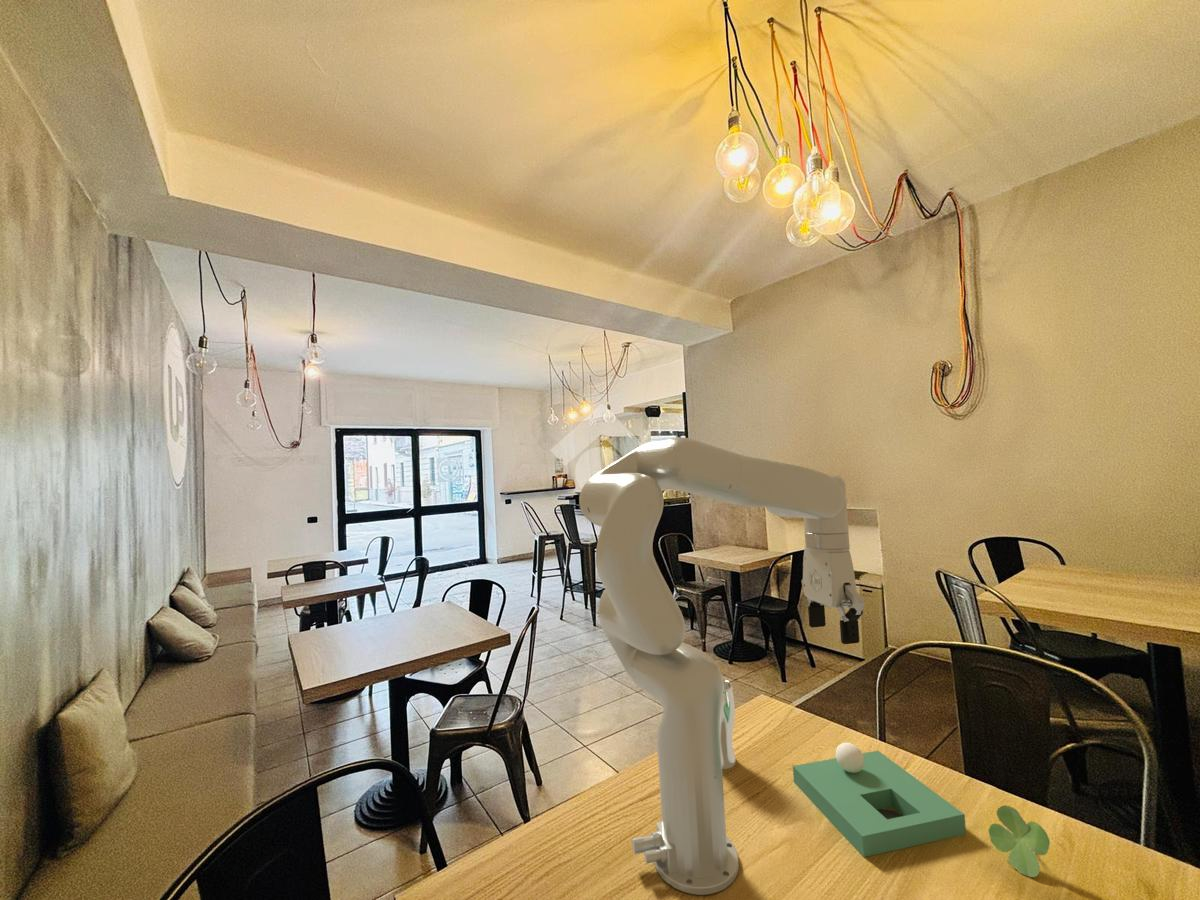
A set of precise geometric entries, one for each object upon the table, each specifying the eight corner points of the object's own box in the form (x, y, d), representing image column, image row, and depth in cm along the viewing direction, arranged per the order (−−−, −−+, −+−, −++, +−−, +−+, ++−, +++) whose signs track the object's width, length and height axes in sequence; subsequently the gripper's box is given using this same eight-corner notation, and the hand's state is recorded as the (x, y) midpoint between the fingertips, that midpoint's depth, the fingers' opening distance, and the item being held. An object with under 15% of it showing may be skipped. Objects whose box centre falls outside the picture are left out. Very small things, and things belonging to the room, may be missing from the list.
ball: (848, 780, 85) (846, 753, 85) (831, 765, 89) (829, 739, 90) (871, 776, 86) (869, 749, 86) (853, 761, 90) (851, 735, 90)
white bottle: (710, 747, 102) (706, 674, 103) (743, 757, 98) (738, 681, 99) (696, 764, 97) (692, 687, 98) (730, 775, 93) (725, 695, 93)
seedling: (1010, 877, 72) (996, 870, 69) (993, 811, 77) (980, 802, 74) (1073, 887, 68) (1062, 882, 65) (1051, 817, 73) (1039, 808, 70)
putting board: (863, 857, 72) (862, 836, 72) (793, 782, 90) (792, 765, 90) (966, 834, 75) (964, 814, 75) (879, 766, 93) (878, 750, 93)
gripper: (784, 537, 99) (789, 622, 98) (837, 549, 82) (844, 652, 81) (817, 535, 100) (823, 619, 99) (877, 546, 83) (885, 648, 82)
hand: (833, 634), depth 90 cm, fingers open, 9 cm apart
